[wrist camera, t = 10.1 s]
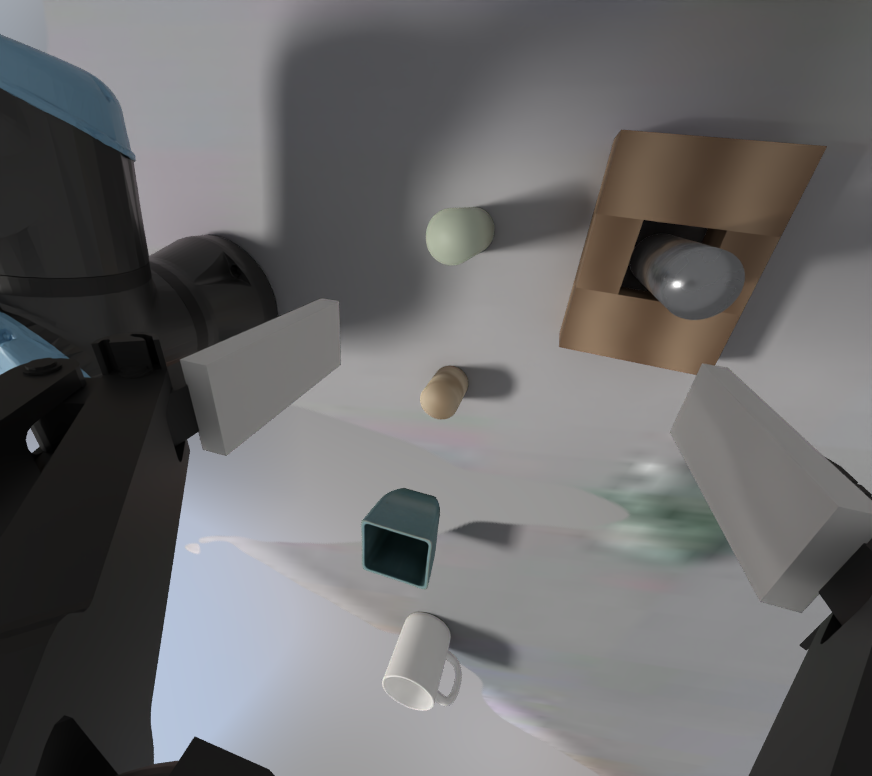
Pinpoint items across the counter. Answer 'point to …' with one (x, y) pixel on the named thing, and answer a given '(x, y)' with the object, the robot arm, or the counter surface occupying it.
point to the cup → (421, 664)
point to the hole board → (686, 205)
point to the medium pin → (459, 234)
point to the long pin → (688, 275)
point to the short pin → (444, 392)
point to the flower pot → (401, 537)
